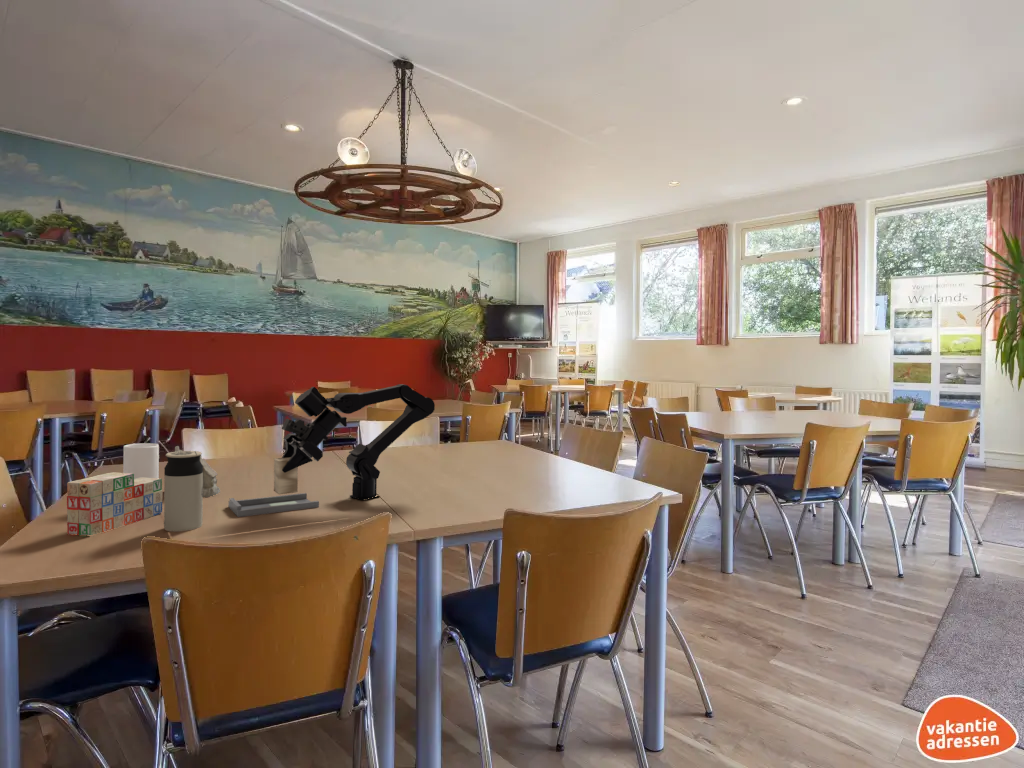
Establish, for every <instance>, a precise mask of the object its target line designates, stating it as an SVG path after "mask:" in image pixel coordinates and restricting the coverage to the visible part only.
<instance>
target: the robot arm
mask: <svg viewBox="0 0 1024 768" xmlns="http://www.w3.org/2000/svg"><path fill="white" fill-rule="evenodd" d="M397 399H400V400H402V402H404V403H405V405H406V406H405V409H404V410H403V412H402V414H401V415H400V416H398V417H397V418H396V419H395V420H394V421H393V422H392V423H391V424H390V425H388V426H387V427H386V428H385V429H384V430H383V431H381V432H380V433H379V434H378V435H377V436H376V437H375V438H374V439H373V440H372V441H370V442H369V443H367V444H362V443H358V444H357V445H356V446H355V447H354V448H353V449H352V450H350V451H349V452H348V453H349V454H348V455H347V457H346V461H345V464H346V467H347V469H348V470H350V472H351V473H352V474H351V475H352V476H354V477H353V482H352V490H351V491H352V492H351V493H352V494H351V495H350V494H349V498H352V497H353V499H356V498H357V500H360V499H362V500H361V501H364V500H363V499H367V500H369V499H368V498H372V497H375V496H376V495H378V494H377V488H378V487H377V481H378V480H377V479H379V477H380V473H381V471H380V470H379V469H378V468H377V467H376V466H375V465H376V464H377V462H378V460H379V458H380V455H381V454H382V453H383V452H385V450H387V448H388V447H390V446H391V445H392V444H393V443H394V442H395V441H396V440H398V438H400V436H402V435H403V434H404V433H405V432H406V431H408V429H410V427H411V426H413V424H415V423H418V422H421V421H422V420H424V419H426V418H428V417H429V416H431V415H432V414H433V413H434V411H435V409H436V407H435V406H436V404H435V401H434V400H433V399H432V398H431V397H428V396H424V395H423V394H421V393H419V392H418V391H416V390H414V389H412V387H410V386H409V385H408V384H405V383H404V384H403V383H402V384H399V383H398V384H396V385H393V386H388V387H383V388H378V389H374V390H369V391H364V392H339V393H336V394H335V395H334V397H329V398H328V397H327V398H326V397H325V396H324V395H323V394H322V393H321V392H320V391H319V389H317V387H315V386H311V387H310V388H309V389H307V390H305V391H304V392H303V393H301V394H299V396H298V397H296V399H295V401H294V403H295V404H296V405H297V406H298V407H299V408H300V409H301V410H302V411H303V412H304V413H305V414H306V415H307V416H308V417H310V418H311V417H315V419H314V420H313V421H312V422H311V423H310V422H307V423H306V424H305V421H303V420H302V419H299V418H298V419H296V420H291V419H289V418H285V421H284V422H283V425H282V427H281V430H283V431H286V432H288V433H287V434H286V435H285V436H284V437H283V440H284V443H285V450H284V453H283V455H282V456H281V458H288V457H291V458H290V459H289V461H288V462H287V463H286V465H285V466H284V468H283V469H282V471H283V472H284V473H286V472H288V471H290V470H292V469H294V468H297V467H300V466H301V467H302V466H303V465H305V464H308V463H312V462H313V461H316V462H319V461H320V460H321V459H322V458H323V456H324V452H323V451H322V449H321V448H319V445H320V444H321V443H322V442H323V441H326V442H327V440H328V439H329V434H331V433H332V432H333V430H335V429H336V427H337V426H338V425H339V426H341V427H344V428H347V426H348V424H347V423H348V422H347V419H348V418H347V417H346V416H341V415H340V414H339V413H342V414H346V415H349V414H353V413H356V412H358V411H360V410H362V409H363V408H365V407H367V406H371V405H375V404H379V403H384V402H388V401H393V400H397ZM329 407H330V408H333V409H334V410H333V411H332V410H331V409H330V408H329ZM338 412H339V413H338ZM312 458H313V459H312ZM372 499H373V498H372Z"/></svg>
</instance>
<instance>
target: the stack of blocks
mask: <svg viewBox="0 0 1024 768" xmlns="http://www.w3.org/2000/svg"><path fill="white" fill-rule="evenodd" d="M66 485H67V486H66V488H67V490H66V492H67V494H66V512H67V515H66V516H67V522H66V523H67V524H66V526H67V528H66V529H67V530H66V531H67V532H66V533H68V534H77V535H93V534H97V533H100V532H104V531H107V530H111V529H113V530H115V529H114V528H117V529H119V528H118V527H120V528H122V527H121V526H123V527H124V525H125V526H128V525H131V524H134V523H137V522H139V521H140V522H141V521H143V520H145V519H149V518H153V517H155V516H158V515H161V514H162V513H163V478H144V477H141V478H137V479H134V474H133V473H123V472H117V471H116V472H115V471H114V472H113V471H112V472H107V473H101V474H98V475H94V476H90V477H86V478H81V479H76V480H73V481H71V480H70V481H68V482H67V483H66ZM136 521H137V522H136ZM133 522H134V523H133ZM130 523H131V524H130ZM127 524H128V525H127ZM111 531H112V530H111ZM107 532H108V531H107ZM104 533H105V532H104ZM68 534H67V535H68Z"/></svg>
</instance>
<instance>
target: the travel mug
mask: <svg viewBox="0 0 1024 768" xmlns="http://www.w3.org/2000/svg"><path fill="white" fill-rule="evenodd" d="M202 454H203V452H202V451H199V450H182V451H177V452H175V451H171V452H167V453H166V454H165V457H166V458H167V463H166V465H165V466H164V474H163V475H164V480H163V481H164V487H163V488H164V489H163V491H164V493H163V499H164V500H163V501H164V503H163V507H164V508H163V510H164V511H163V520H164V521H163V522H164V523H163V527H164V530H165V531H167V532H186V531H192V530H196V529H199V528H201V527H202V526H203V510H204V509H203V506H204V505H203V501H204V500H203V499H204V498H203V465H202V464H201V462H200V456H201V457H202Z"/></svg>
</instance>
